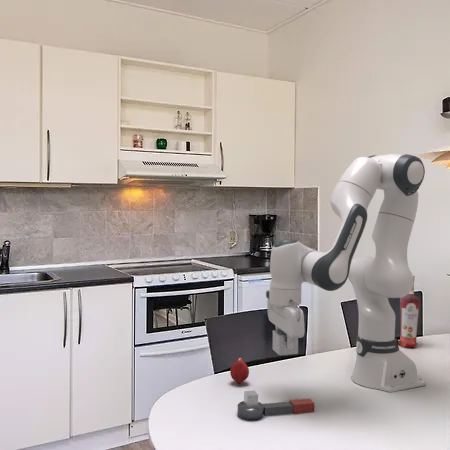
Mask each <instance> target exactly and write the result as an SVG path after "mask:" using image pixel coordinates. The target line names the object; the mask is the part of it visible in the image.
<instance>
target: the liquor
mask: <svg viewBox="0 0 450 450" xmlns="http://www.w3.org/2000/svg"><path fill="white" fill-rule="evenodd" d="M413 279H414V280H415V275H413ZM414 286H415V281H414V282H413V287H412V289H411V291H410V292H409V294H407V295H406V296H404V297H401V298H399V321H400V323H399V324H400V325H399V330H400V332H399V335H400V336H399V337H400V338H399V340H402V341H405V344H406V346H405V347H404V348H406V347H408V348H407V349H413V348H412V347H414V348H416V346H417V345H418V343H417V338H418V337H417V335H418V324H419V317H420V316H419V315H420V304H421V300H420V298H419V297H418V296H416V295H415V287H414Z"/></svg>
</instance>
